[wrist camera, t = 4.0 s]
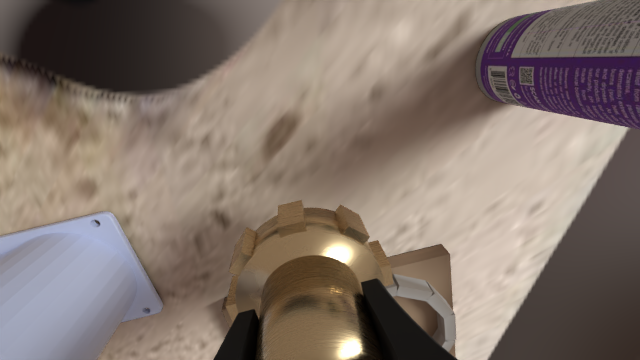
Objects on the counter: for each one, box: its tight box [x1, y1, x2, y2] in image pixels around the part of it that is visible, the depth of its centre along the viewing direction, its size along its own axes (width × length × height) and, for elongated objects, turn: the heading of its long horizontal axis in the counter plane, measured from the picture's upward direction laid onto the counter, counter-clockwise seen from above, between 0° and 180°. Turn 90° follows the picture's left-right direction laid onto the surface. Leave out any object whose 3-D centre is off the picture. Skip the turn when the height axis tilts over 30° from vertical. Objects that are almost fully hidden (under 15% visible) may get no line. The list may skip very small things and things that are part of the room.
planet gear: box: [226, 200, 394, 360], centre depth 11 cm, size 7×7×6 cm
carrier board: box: [222, 244, 456, 357], centre depth 22 cm, size 16×11×3 cm
